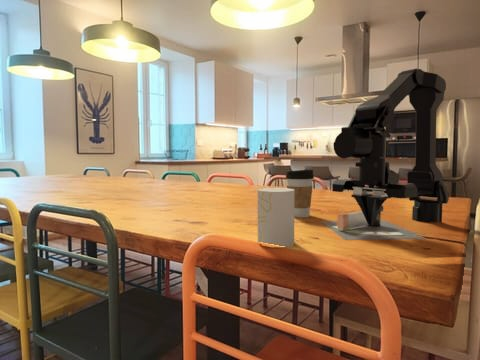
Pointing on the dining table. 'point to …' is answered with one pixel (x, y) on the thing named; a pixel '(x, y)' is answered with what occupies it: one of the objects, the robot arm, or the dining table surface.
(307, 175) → the coffee cup
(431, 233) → the dining table surface
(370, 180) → the robot arm
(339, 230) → the dial board
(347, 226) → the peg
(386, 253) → the dining table surface
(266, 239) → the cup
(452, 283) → the dining table surface
